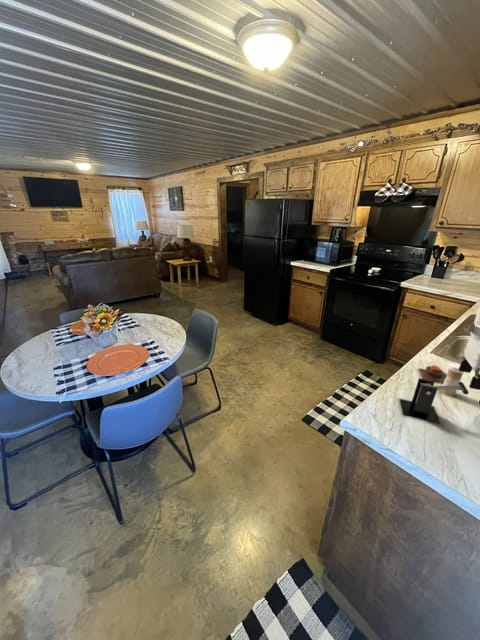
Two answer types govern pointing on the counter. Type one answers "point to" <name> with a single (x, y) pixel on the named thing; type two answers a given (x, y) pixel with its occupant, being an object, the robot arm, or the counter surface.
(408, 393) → the counter surface
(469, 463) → the counter surface
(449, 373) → the sprinkles bottle
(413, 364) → the counter surface
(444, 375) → the button block
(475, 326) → the robot arm
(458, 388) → the lever
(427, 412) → the bracket
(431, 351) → the counter surface
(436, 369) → the button
